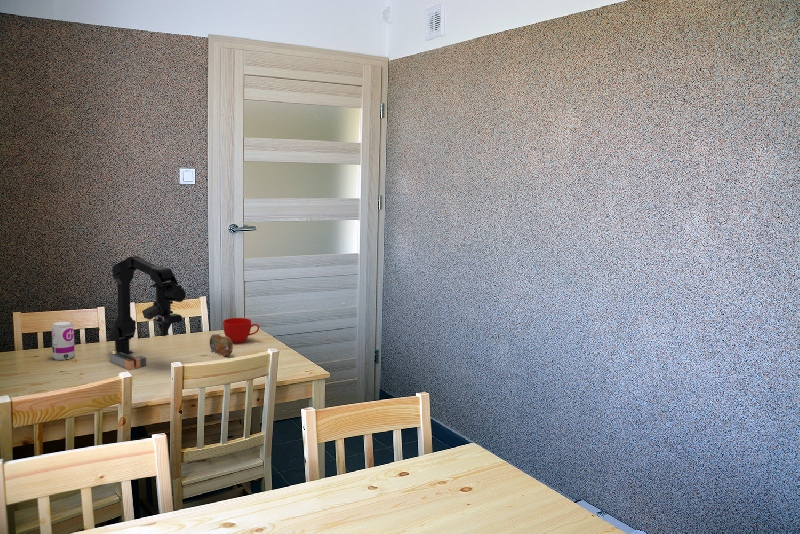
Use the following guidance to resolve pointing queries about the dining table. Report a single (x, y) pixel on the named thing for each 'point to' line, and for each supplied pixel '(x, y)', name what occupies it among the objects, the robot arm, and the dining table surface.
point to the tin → (221, 344)
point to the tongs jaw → (136, 360)
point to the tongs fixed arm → (121, 360)
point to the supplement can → (63, 340)
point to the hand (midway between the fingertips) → (163, 336)
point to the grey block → (142, 360)
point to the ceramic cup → (238, 329)
